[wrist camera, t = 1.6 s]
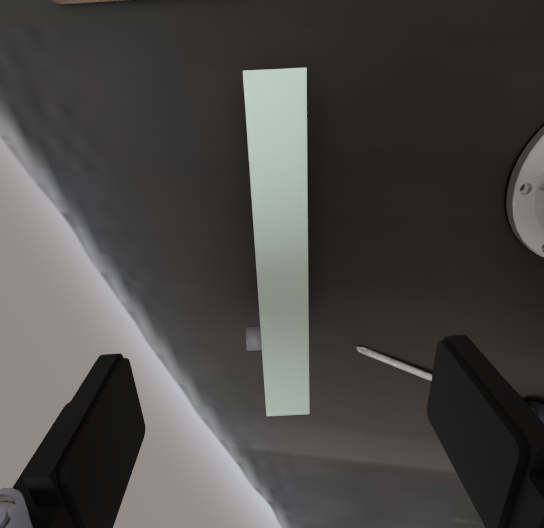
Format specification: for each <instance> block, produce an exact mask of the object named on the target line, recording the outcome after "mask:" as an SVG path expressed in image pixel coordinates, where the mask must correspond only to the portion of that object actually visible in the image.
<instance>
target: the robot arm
mask: <svg viewBox="0 0 544 528" xmlns="http://www.w3.org/2000/svg"><path fill="white" fill-rule="evenodd" d="M506 209H507V215H508V221H509V223H510V226H511V228H512V231H513V233H514V234H515V235H516V237H517V238H518V240H519V241H520V242H521V243H522V244H523V245H524V246H526V247H527V248H528V249H529V250H531V251H532V252H534V253H536V254H538V255H539V256H541V257H544V126H543V127H542V128H541V129H540V130H539V131H538V133H537V134H536V135H535V136H534V137H533V138H532V140H531V141H530V142H529V143H528V144H527V146H526V148H525V149H524V151H523V152H522V154H521V155H520V157H519V158H518V161H517V163H516V165H515V167H514V170H513V172H512V174H511V177H510V181H509V185H508V189H507V200H506ZM427 414H428V418H429V421H430V423H431V425H432V427H433V429H434V430H435V432H436V434H437V436H438V438H439V440H440V442H441V444H442V446H443V448H444V449H445V451H446V453H447V455H448V457H449V459H450V461H451V463H452V465H453V467H454V468H455V470H456V472H457V474H458V476H459V478H460V480H461V482H462V484H463V486H464V487H465V489H466V491H467V493H468V495H469V497H470V499H471V501H472V503H473V505H474V506H475V508H476V510H477V512H478V514H479V516H480V518H481V520H482V522H483V524H484V525H485V527H486V528H544V423H543V422H542V421H541V420H540V418H539V417H538V416H537V415H536V414H535V413H534V412H533V410H532V409H531V408H530V407H529V406H528V405H527V404H526V402H525V401H524V400H523V399H522V398H521V397H520V396H519V394H518V393H517V392H516V391H515V390H514V389H513V388H512V386H511V385H510V384H509V383H508V382H507V381H506V380H505V379H504V378H503V377H502V376H501V374H500V373H499V372H498V371H497V370H496V369H495V368H494V366H493V365H492V364H491V363H490V362H489V361H488V360H487V358H486V357H485V356H484V355H483V354H482V353H481V352H480V350H479V349H478V348H477V347H476V346H475V345H474V343H473V342H472V341H471V340H470V339H469V338H468V337H467V336H465V335H456V336H445V337H444V338H443V341H439V342H438V344H437V350H436V356H435V362H434V368H433V375H432V381H431V387H430V394H429V400H428V406H427ZM144 435H145V423H144V419H143V415H142V411H141V406H140V402H139V398H138V394H137V390H136V386H135V382H134V378H133V374H132V370H131V366H130V362H129V359H127V358H123V356H122V354H107V355H100V356H99V358H98V359H97V361H96V362H95V364H94V365H93V367H92V369H91V370H90V372H89V374H88V375H87V377H86V378H85V380H84V381H83V383H82V385H81V386H80V388H79V389H78V391H77V393H76V394H75V396H74V397H73V399H72V400H71V402H69V403H68V404H66V406H65V407H64V408H63V410H62V411H61V413H60V414H59V416H58V417H57V419H56V421H55V422H54V424H53V425H52V427H51V429H50V430H49V432H48V433H47V435H46V436H45V438H44V439H43V441H42V443H41V444H40V446H39V447H38V449H37V450H36V452H35V454H34V455H33V457H32V458H31V460H30V461H29V463H28V465H27V466H26V468H25V469H24V471H23V472H22V474H21V475H20V477H19V479H18V480H17V482H16V483H15V485H14V487H13V488H2V489H0V528H113V525H114V523H115V520H116V517H117V514H118V511H119V508H120V505H121V502H122V499H123V496H124V494H125V491H126V488H127V485H128V482H129V479H130V476H131V473H132V470H133V467H134V464H135V462H136V459H137V456H138V453H139V450H140V447H141V444H142V441H143V438H144Z"/></svg>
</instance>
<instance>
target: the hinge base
mask: <svg viewBox="0 0 544 528" xmlns="http://www.w3.org/2000/svg"><path fill="white" fill-rule="evenodd" d="M51 1H54V2H56V3H58V4H71V3H90V2H110V1H130V0H51Z"/></svg>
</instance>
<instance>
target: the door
mask: <svg viewBox="0 0 544 528" xmlns="http://www.w3.org/2000/svg"><path fill="white" fill-rule="evenodd" d="M243 81H244V96H245V110H246V125H247V139H248V154H249V168H250V183H251V197H252V212H253V226H254V241H255V255H256V270H257V284H258V299H259V313H260V326H255V327H246V346H247V351H252V350H262V357H263V371H264V386H265V401H266V415H267V416H281V415H300V414H309V312H308V188H307V68H288V69H268V70H248V71H243Z"/></svg>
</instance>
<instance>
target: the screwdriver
mask: <svg viewBox="0 0 544 528" xmlns="http://www.w3.org/2000/svg"><path fill="white" fill-rule="evenodd" d="M356 349H357V350H358V351H359V352H360V353H363V354H365V355H367V356H369V357H372V358H374V359H377V360H379V361H382V362H384V363H387V364H390V365H392V366H394V367H397V368H399V369H402V370H405V371H407V372H409V373H412V374H415V375H417V376H420V377H422V378H424V379H427V380H430V381H432V375H433V374H431V373H428V372H426V371H424V370H421V369H419V368H416V367H414V366H411V365H409V364H406V363H404V362H401V361H399V360H396V359H394V358H391V357H389V356H386V355H384V354H381V353H379V352H376V351H374V350H371V349H369V348H364V347H358V346H357V347H356ZM526 404H527V405H528V406H529V407H530V408H531V409H532V410H533V412H534V413H535V414H536V415H537V416H538V417H539V418H540V420H541V421H542V422H543V423H544V404H541V403H538V402H535V401H529V402H526Z"/></svg>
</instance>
